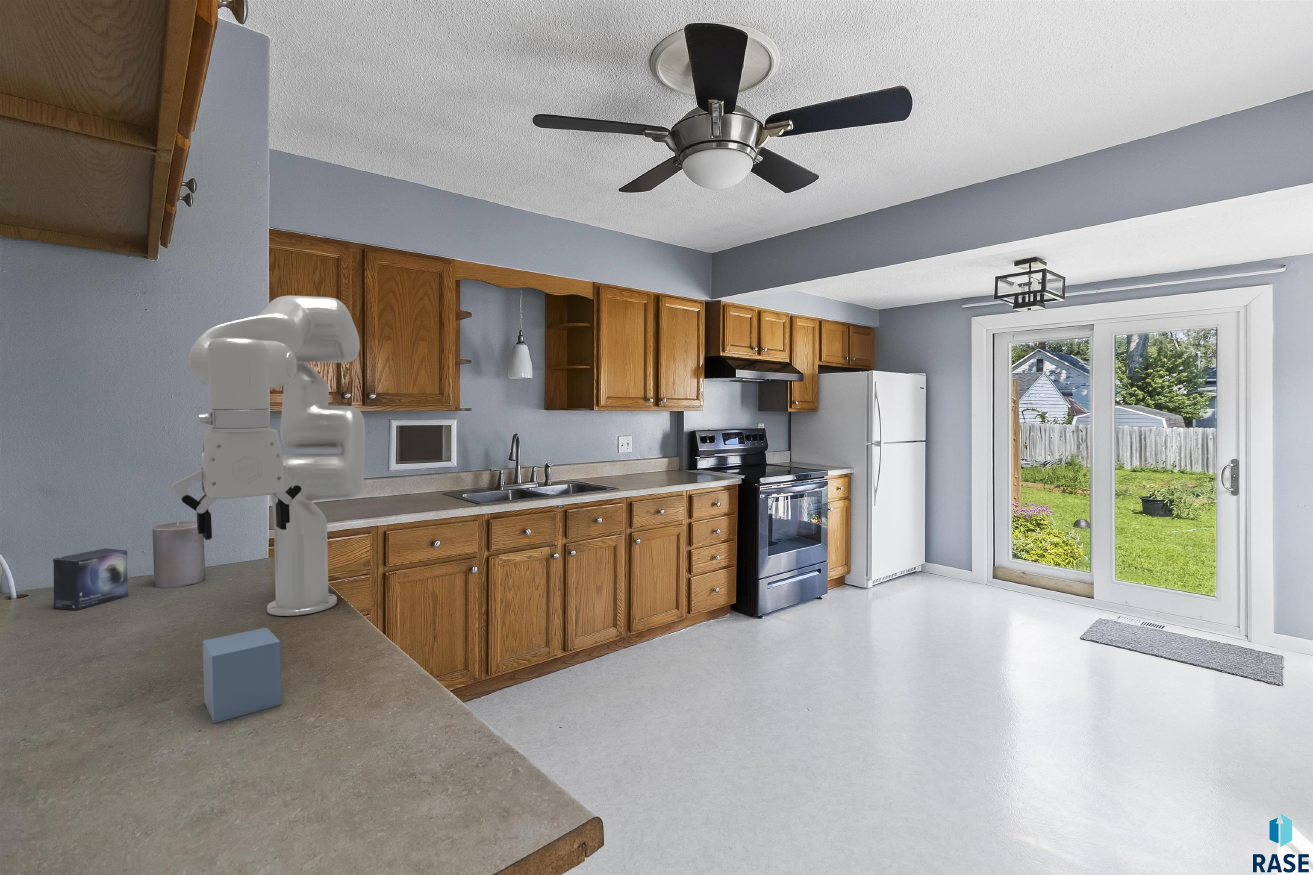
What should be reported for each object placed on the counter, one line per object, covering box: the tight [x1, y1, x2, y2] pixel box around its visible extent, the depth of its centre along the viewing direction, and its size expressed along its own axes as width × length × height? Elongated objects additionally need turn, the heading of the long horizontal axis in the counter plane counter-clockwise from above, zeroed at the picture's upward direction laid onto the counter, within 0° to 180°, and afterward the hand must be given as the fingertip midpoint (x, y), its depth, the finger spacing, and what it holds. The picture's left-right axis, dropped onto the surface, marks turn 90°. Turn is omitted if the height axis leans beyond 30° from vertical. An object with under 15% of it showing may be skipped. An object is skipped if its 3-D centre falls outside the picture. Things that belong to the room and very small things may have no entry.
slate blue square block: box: [202, 627, 283, 724], centre depth 87 cm, size 8×8×9 cm
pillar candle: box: [151, 519, 206, 589], centre depth 148 cm, size 10×10×15 cm
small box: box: [52, 547, 129, 611], centre depth 133 cm, size 11×6×10 cm, turn 168°
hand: (245, 533), depth 96 cm, fingers open, 9 cm apart
